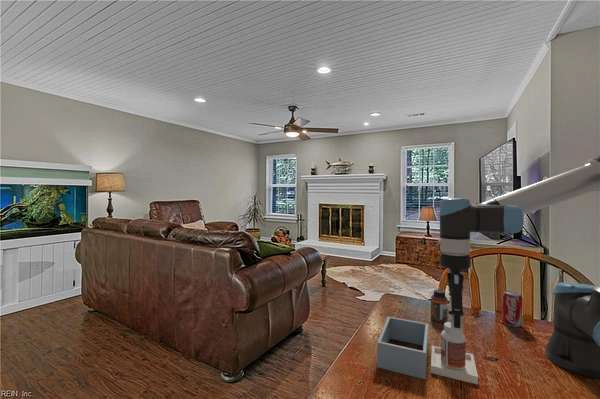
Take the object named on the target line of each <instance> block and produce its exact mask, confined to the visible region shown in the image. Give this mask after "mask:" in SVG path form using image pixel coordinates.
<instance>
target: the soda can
mask: <svg viewBox="0 0 600 399" xmlns="http://www.w3.org/2000/svg"><path fill="white" fill-rule="evenodd" d="M501 299H502V300H501V322H503V324H504V325H506V326H508V327H511V326H513V327H512V328H519V327H521V326H522V325H523V306H524V305H523V301H524V300H523V296H522V295H521V293H519V292H517V291H513V290H511V291H510V290H504V291H503V294H502V298H501Z"/></svg>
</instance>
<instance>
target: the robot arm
mask: <svg viewBox="0 0 600 399" xmlns="http://www.w3.org/2000/svg"><path fill="white" fill-rule="evenodd" d="M598 190H599V191H600V155H598V156H597V157H592V158H591V159H588V160H586V161H584V163H583V165H582V166H579V167H577V168H573V169H570V170H568V171H566V172H563V173H560V174H557V175H554V176H552V177H549V178H546V179H544V180H540V181H538V182H536V183H532V184H530V185H527V186H524V187H521V188H519V189H516V190H514V191H513V190H512V191H511V192H507V193H505V194H502V195H499V196H497V197H494V198H491V199H488V200H486V201H483V202H481V203H479V202H477V203H476V202H475V203H473V204H471V201H470V199H469V198H459V197H458V198H443V199H441V200H440V203H439V213H438V214H439V240H437V244H439V245H440V247H439V248H440V252H441V253H440V254H439V265H440V267H442V268H445V269H448V270H449V271H447V272H446V279H447V283H448V296H449V297H448V307H449V309H448V311H447V315H448V319H450V322H451V339H456V340H462V341H463V335H464V323H463V322H464V319H463V318H464V307H463V303H464V302H463V291H464V280H465V279H464V277H465V276H464V275H463V274H464V273H461V270H464V271H465V270H469V269H471V255H470V253H471V233H485V234H486V233H488V234H489V233H491V234H517V233H520V232H521V231H522V229H523V227H524V218H525V217H524V215H526V214H529V213H533V212H536V211H539V210H541V209H542V210H543V209H544V208H548V207H550V206H554V205H557V204H560V203H563V202H565V201H568V200H572V199H575V198H578V197H581V196H583V195H586V194H588V193H592V192H595V191H598ZM553 295H554V297H553V298H554V299H553V302H554V305H553V330H552V333H551V335H550V336H549V337H550V338H549V340H548V341H547V343H546V345H545V356H546V358H547V359H548V360H550V361H551V362H552V363H553V364H556V365H557V366H559V367H561V368H563V369H565V370H568V371H570V372H571V373H572V372H573V373H575V374H579V375H582V376H586V377H590V378H594V379H600V285H592V284H588V283H586V284H585V283H578V282H577V283H576V282H558V283H556V284H555V286H554V293H553Z"/></svg>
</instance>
